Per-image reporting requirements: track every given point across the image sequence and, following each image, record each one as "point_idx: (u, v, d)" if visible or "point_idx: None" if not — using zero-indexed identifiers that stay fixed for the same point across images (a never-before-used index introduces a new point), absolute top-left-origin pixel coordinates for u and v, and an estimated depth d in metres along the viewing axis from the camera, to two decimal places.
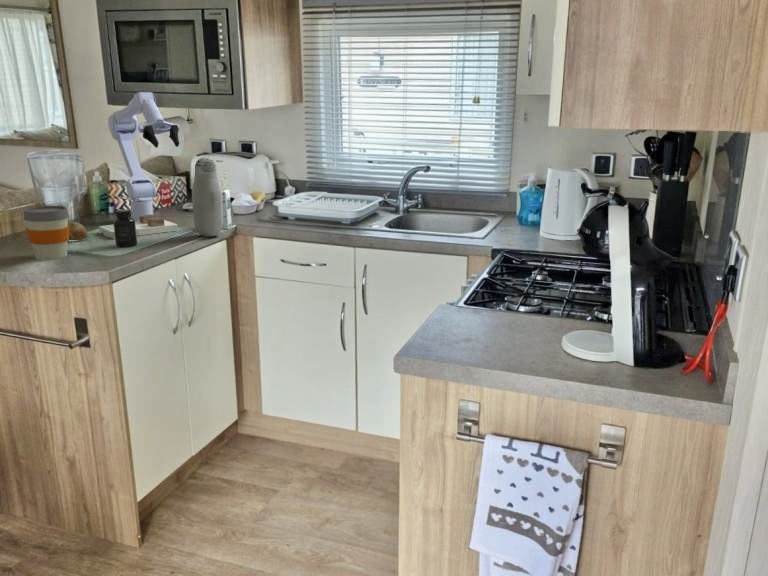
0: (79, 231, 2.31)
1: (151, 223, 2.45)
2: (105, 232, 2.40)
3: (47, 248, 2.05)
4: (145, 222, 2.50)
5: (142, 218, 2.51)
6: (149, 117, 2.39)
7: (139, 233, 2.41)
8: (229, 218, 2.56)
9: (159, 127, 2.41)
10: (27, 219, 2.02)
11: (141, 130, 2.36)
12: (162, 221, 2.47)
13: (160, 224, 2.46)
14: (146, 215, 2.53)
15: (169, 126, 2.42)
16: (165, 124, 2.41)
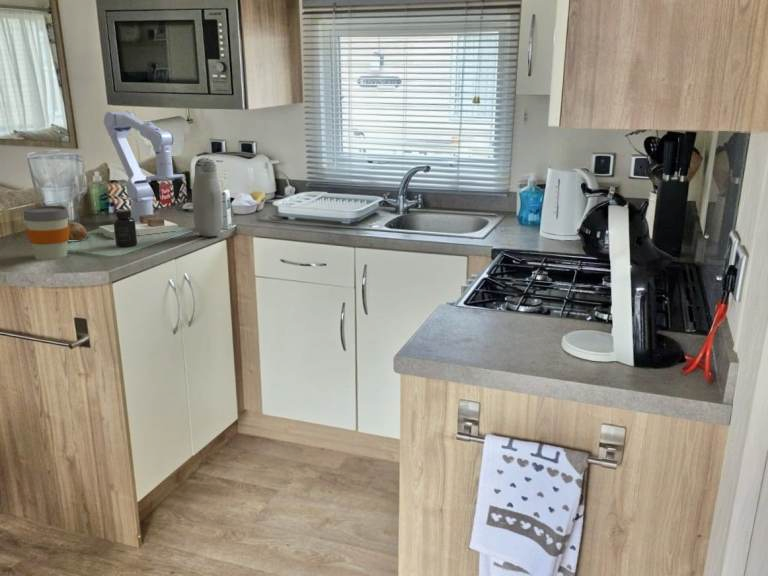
0: (79, 231, 2.31)
1: (151, 223, 2.45)
2: (105, 232, 2.40)
3: (47, 248, 2.05)
4: (145, 222, 2.50)
5: (142, 218, 2.51)
6: (160, 168, 2.50)
7: (139, 233, 2.41)
8: (229, 218, 2.56)
9: None
10: (27, 219, 2.02)
11: (148, 182, 2.49)
12: (162, 221, 2.47)
13: (160, 224, 2.46)
14: (146, 215, 2.53)
15: (175, 177, 2.55)
16: (172, 177, 2.53)
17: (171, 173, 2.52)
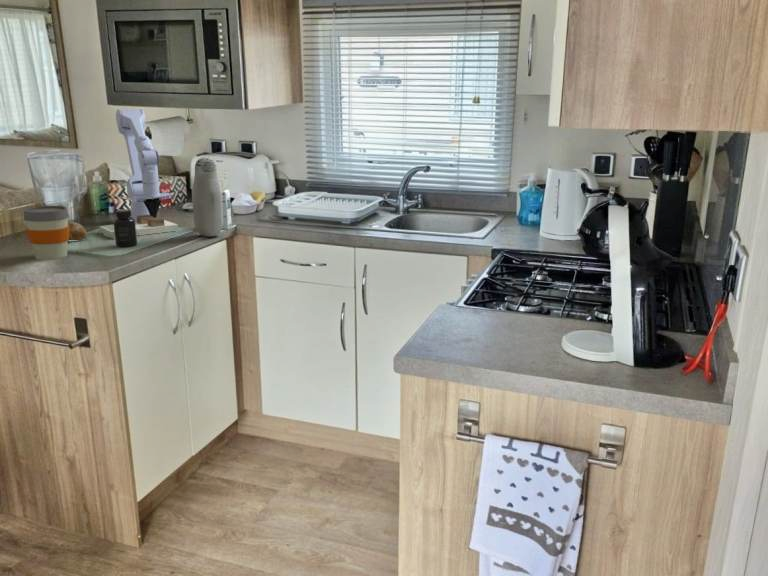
0: (78, 231, 2.31)
1: (151, 223, 2.45)
2: (105, 232, 2.40)
3: (47, 248, 2.05)
4: (142, 222, 2.49)
5: (139, 218, 2.50)
6: (146, 187, 2.48)
7: (139, 233, 2.41)
8: (229, 218, 2.56)
9: None
10: (27, 219, 2.02)
11: None
12: (162, 221, 2.47)
13: (160, 224, 2.46)
14: (143, 215, 2.53)
15: None
16: (158, 196, 2.52)
17: (157, 192, 2.51)
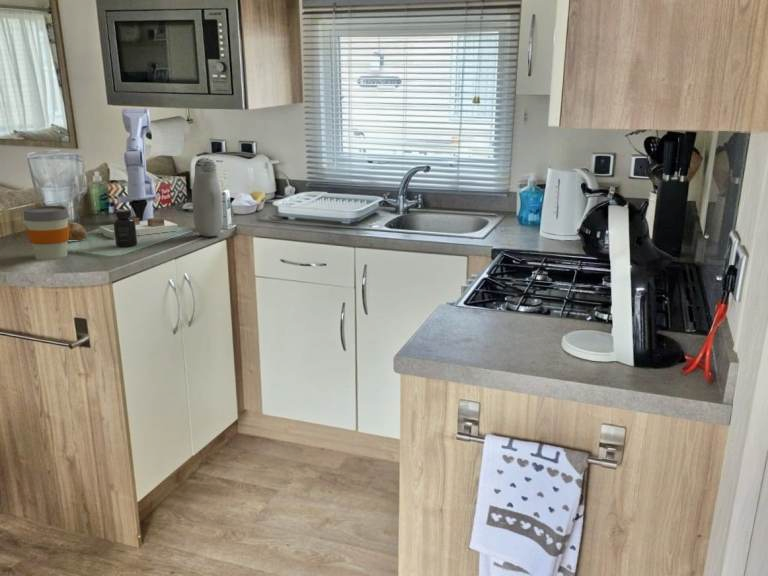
0: (78, 231, 2.31)
1: (151, 223, 2.45)
2: (105, 232, 2.40)
3: (47, 248, 2.05)
4: None
5: None
6: (132, 188, 2.45)
7: (139, 233, 2.41)
8: (229, 218, 2.56)
9: None
10: (27, 219, 2.02)
11: (119, 202, 2.44)
12: (162, 221, 2.47)
13: (160, 224, 2.46)
14: None
15: (148, 197, 2.50)
16: (145, 198, 2.49)
17: (143, 194, 2.47)
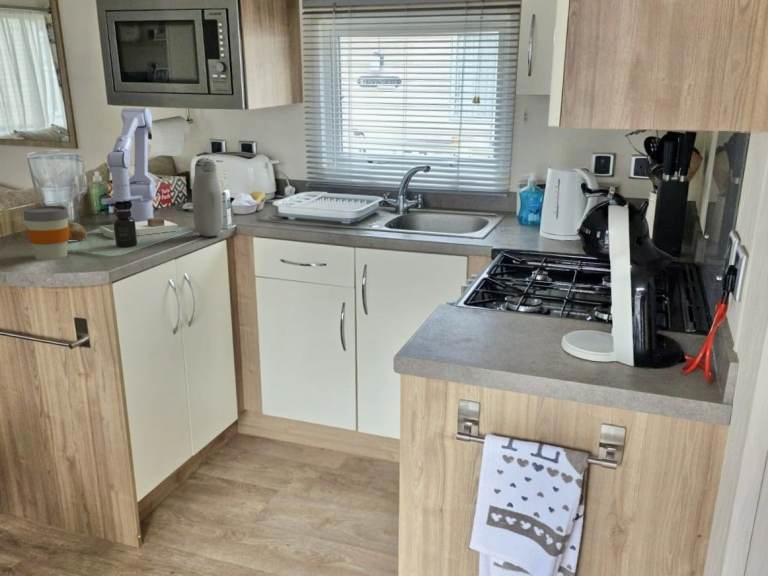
0: (78, 231, 2.31)
1: (151, 223, 2.45)
2: (105, 232, 2.40)
3: (47, 248, 2.05)
4: None
5: None
6: (116, 189, 2.41)
7: (139, 233, 2.41)
8: (229, 218, 2.56)
9: None
10: (27, 219, 2.02)
11: None
12: (162, 221, 2.47)
13: (160, 224, 2.46)
14: None
15: (133, 198, 2.47)
16: (129, 199, 2.45)
17: (128, 195, 2.44)
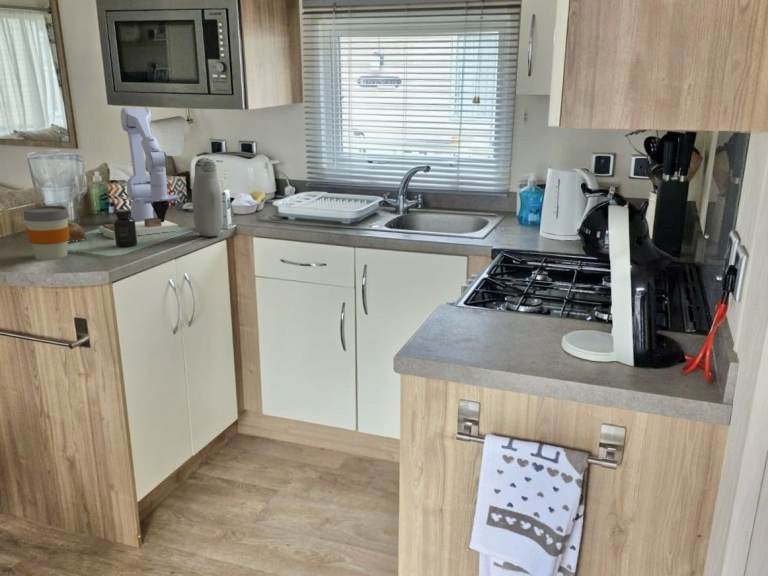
0: (76, 231, 2.30)
1: (148, 223, 2.44)
2: (105, 232, 2.40)
3: (47, 248, 2.05)
4: None
5: None
6: (154, 189, 2.43)
7: (139, 233, 2.41)
8: (229, 218, 2.56)
9: None
10: (27, 219, 2.02)
11: (141, 204, 2.42)
12: (159, 221, 2.46)
13: (157, 224, 2.46)
14: None
15: (170, 198, 2.48)
16: None
17: (165, 195, 2.45)
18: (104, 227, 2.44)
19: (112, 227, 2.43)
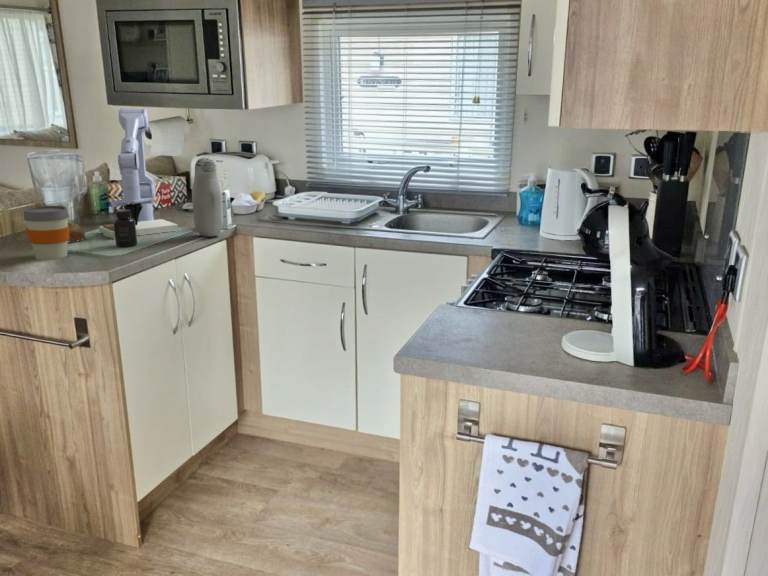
0: (76, 231, 2.30)
1: None
2: (105, 232, 2.40)
3: (47, 248, 2.05)
4: None
5: None
6: (126, 192, 2.36)
7: (139, 233, 2.41)
8: (229, 218, 2.56)
9: None
10: (27, 219, 2.02)
11: (113, 206, 2.36)
12: None
13: None
14: None
15: None
16: (139, 201, 2.40)
17: (138, 197, 2.39)
18: (104, 227, 2.44)
19: (112, 227, 2.43)
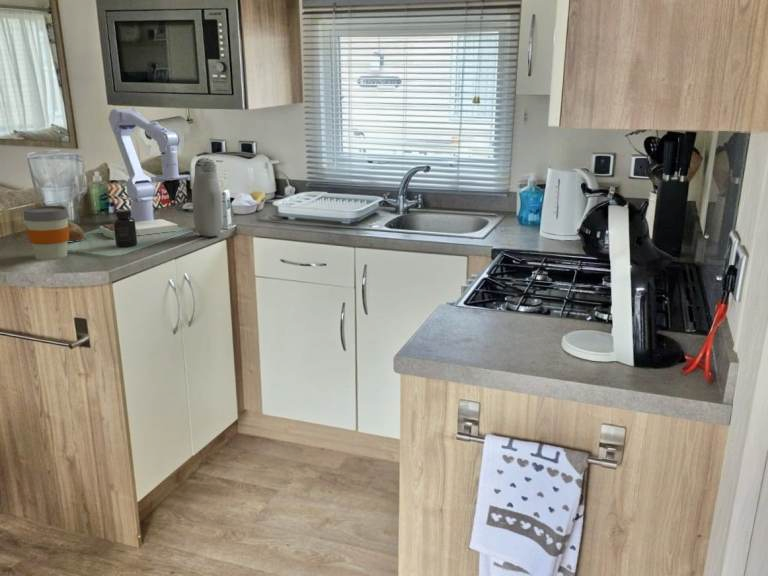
0: (75, 231, 2.30)
1: (112, 229, 2.38)
2: (105, 232, 2.40)
3: (47, 248, 2.05)
4: None
5: None
6: (165, 168, 2.48)
7: (139, 233, 2.41)
8: (229, 218, 2.56)
9: None
10: (27, 219, 2.02)
11: (153, 182, 2.48)
12: None
13: None
14: None
15: (181, 177, 2.54)
16: None
17: (177, 174, 2.51)
18: (104, 227, 2.44)
19: None
